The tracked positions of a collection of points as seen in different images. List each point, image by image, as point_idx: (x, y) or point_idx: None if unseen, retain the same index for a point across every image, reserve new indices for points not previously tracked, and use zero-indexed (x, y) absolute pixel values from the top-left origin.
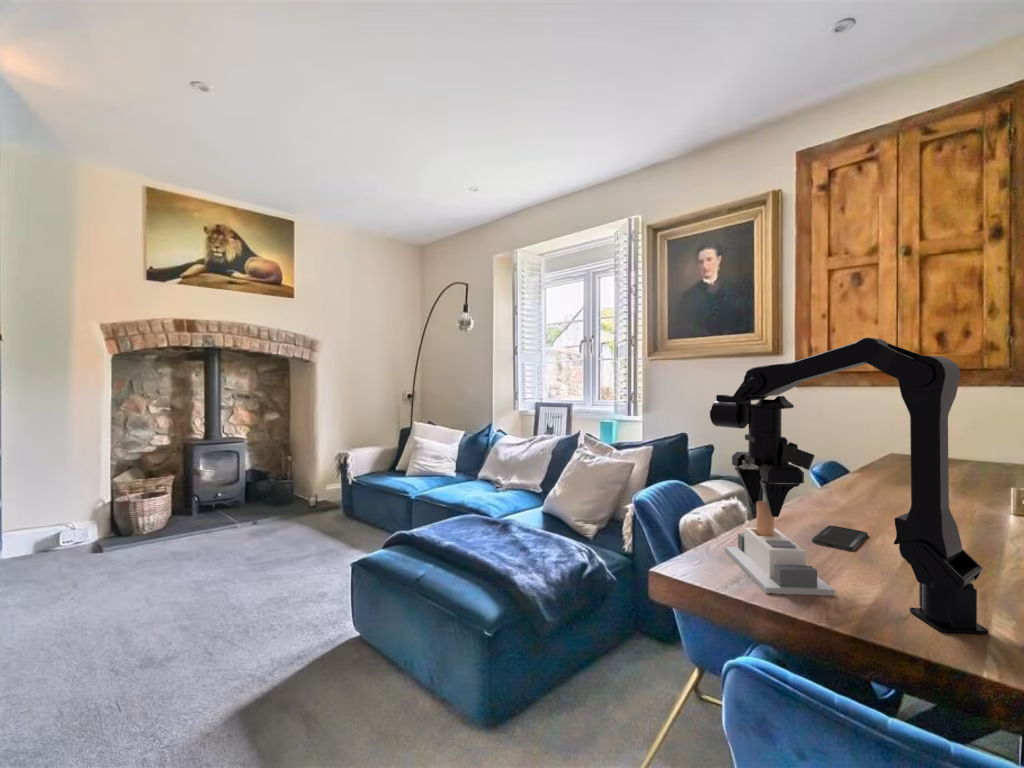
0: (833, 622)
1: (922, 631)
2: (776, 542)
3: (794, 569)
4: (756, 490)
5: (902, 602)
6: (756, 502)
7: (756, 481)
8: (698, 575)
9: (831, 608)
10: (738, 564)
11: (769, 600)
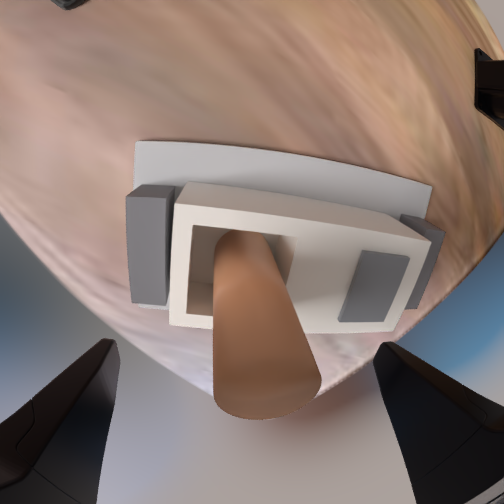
0: (468, 252)
1: (501, 150)
2: (367, 300)
3: (428, 280)
4: (88, 414)
5: (451, 79)
6: (246, 417)
7: (62, 471)
8: None
9: (449, 226)
10: None
11: (404, 310)
